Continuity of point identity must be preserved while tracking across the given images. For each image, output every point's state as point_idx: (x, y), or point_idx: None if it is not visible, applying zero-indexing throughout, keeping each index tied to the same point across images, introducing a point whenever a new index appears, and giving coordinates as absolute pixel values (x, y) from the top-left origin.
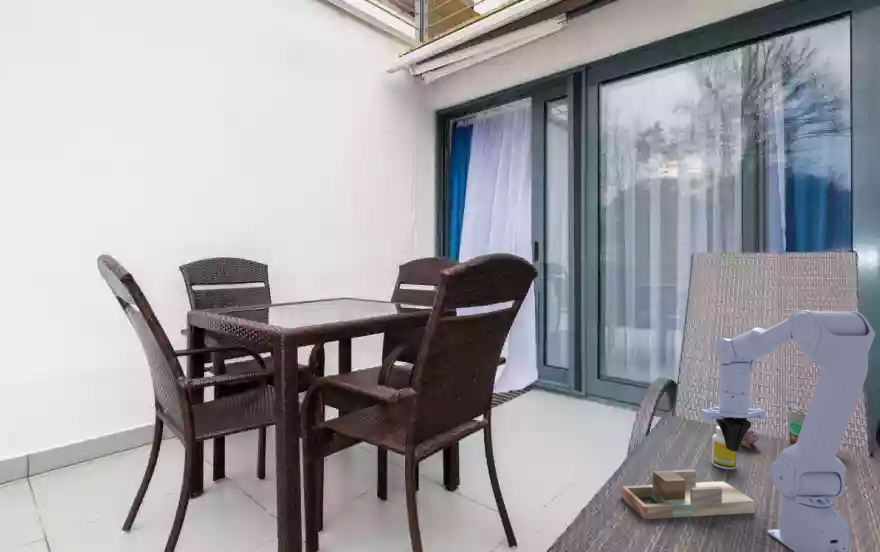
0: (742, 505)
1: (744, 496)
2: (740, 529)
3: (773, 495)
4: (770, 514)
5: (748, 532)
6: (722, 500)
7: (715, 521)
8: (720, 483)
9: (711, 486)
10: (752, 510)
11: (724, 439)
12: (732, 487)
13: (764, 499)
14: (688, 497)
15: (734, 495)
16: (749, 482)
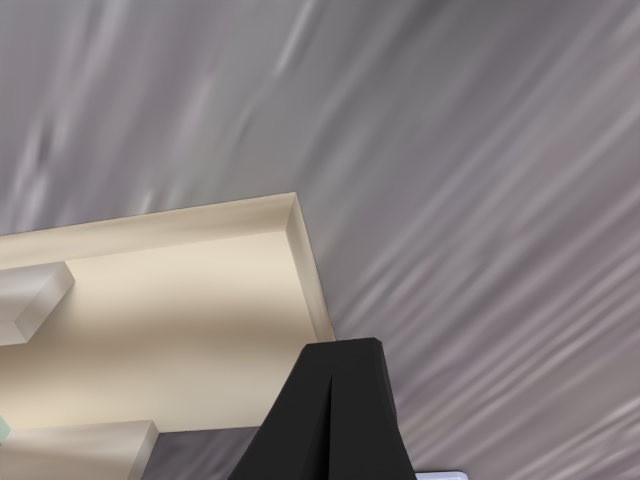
0: None
1: None
2: (213, 457)
3: (624, 208)
4: (419, 378)
5: None
6: (171, 418)
7: None
8: (244, 262)
9: (168, 298)
10: None
11: (265, 420)
12: (301, 303)
13: (511, 256)
14: (9, 398)
15: (261, 378)
16: (618, 16)
